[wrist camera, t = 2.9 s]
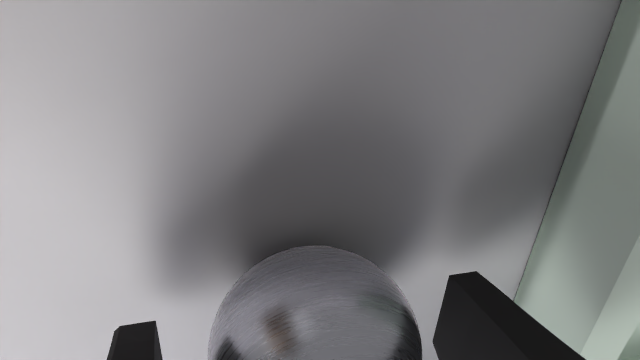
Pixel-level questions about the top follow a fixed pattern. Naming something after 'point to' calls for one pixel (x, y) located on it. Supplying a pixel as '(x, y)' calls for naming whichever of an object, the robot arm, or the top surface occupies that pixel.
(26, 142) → the top surface
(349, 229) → the top surface
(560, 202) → the tray
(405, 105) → the top surface
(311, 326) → the ball
